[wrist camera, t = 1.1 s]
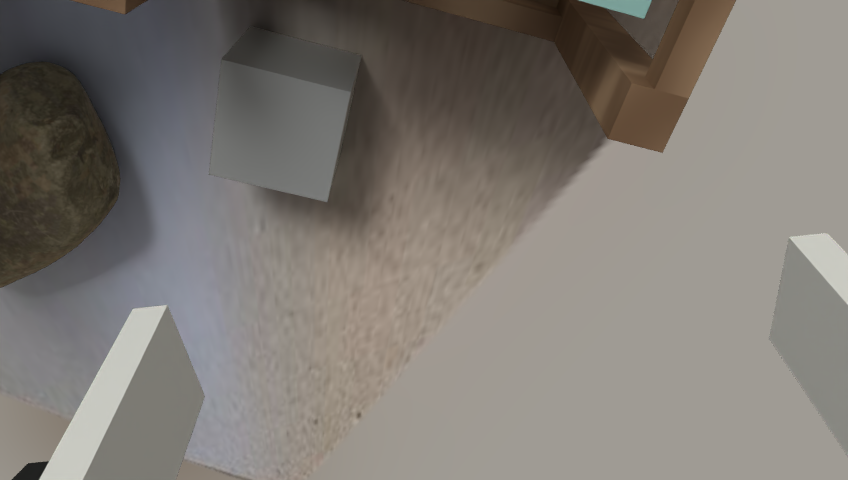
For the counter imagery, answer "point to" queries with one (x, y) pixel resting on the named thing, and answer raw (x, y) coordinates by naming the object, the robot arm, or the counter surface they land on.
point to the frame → (600, 56)
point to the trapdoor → (624, 6)
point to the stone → (49, 168)
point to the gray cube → (282, 113)
